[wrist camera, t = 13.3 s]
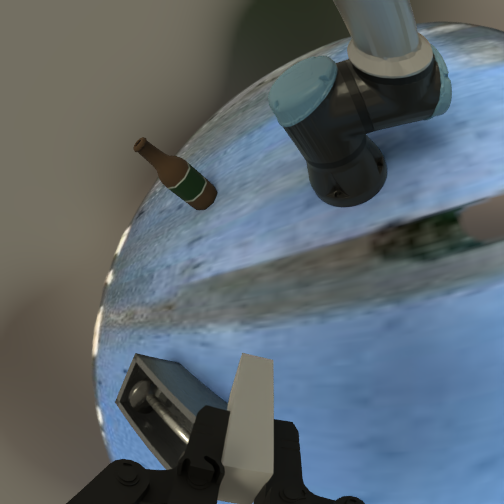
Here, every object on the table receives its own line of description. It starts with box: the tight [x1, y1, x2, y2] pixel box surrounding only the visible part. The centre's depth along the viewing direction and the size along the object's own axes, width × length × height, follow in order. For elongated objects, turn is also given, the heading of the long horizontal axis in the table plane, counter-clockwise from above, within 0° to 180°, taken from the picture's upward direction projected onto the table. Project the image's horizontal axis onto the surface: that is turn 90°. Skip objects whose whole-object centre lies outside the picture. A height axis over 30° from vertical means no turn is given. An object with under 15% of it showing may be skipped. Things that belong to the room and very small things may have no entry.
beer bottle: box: [134, 137, 217, 210], centre depth 62 cm, size 8×8×24 cm
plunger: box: [129, 377, 191, 445], centre depth 37 cm, size 18×8×8 cm, turn 60°
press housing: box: [115, 353, 228, 470], centre depth 42 cm, size 20×12×11 cm, turn 60°
